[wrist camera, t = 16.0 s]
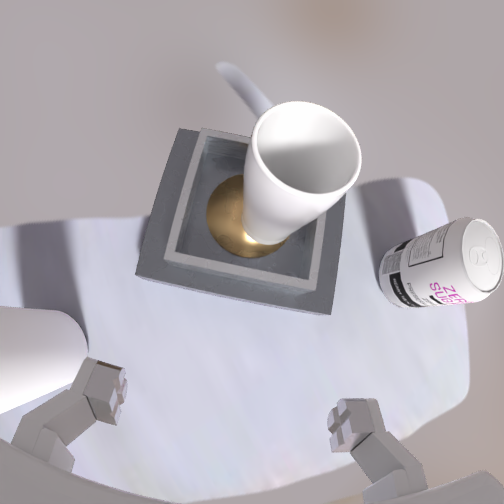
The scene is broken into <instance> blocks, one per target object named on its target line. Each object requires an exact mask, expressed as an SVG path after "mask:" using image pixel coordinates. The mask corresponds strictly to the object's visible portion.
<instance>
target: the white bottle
mask: <svg viewBox="0 0 504 504" xmlns="http://www.w3.org/2000/svg"><path fill="white" fill-rule="evenodd" d="M86 357H88V347H87V342H86V338H85V336H84V333H83V331H82V329H81V328H80V326H79V325H78V323H77V322H76V321H75V320H74V319H73V318H72V317H70V316H69V315H68V314H66V313H64V312H61V311H57V310H44V309H30V308H17V307H5V306H0V414H1V413H3V412H5V411H8V410H10V409H12V408H15V407H17V406H19V405H22V404H24V403H26V402H29V401H31V400H33V399H36V398H38V397H40V396H42V395H45V394H47V393H49V392H51V391H54V390H56V389H58V388H60V387H63V386H65V385H67V384H69V383H71V382H74V379H75V377H76V375H77V373H78V371H79V369H80V367H81V365H82V362H83V360H84V359H85V358H86Z"/></svg>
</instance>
